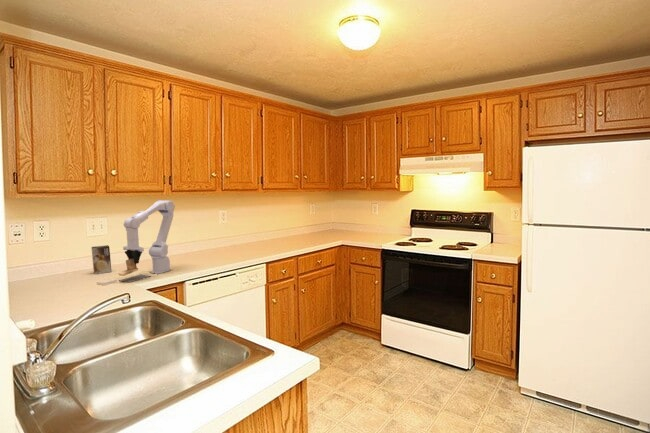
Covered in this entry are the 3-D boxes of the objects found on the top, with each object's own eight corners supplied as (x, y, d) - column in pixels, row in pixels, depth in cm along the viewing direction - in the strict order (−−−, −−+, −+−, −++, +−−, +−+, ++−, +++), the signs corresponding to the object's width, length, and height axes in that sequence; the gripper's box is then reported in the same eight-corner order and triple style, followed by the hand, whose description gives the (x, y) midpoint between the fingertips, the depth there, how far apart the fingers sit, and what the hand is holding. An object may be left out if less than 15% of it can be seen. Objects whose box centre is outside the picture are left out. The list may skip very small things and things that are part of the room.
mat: (140, 275, 217) (140, 274, 217) (151, 276, 213) (151, 276, 213) (118, 281, 205) (118, 280, 205) (129, 282, 201) (129, 282, 201)
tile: (109, 278, 205) (96, 281, 199) (116, 279, 202) (103, 283, 196) (109, 281, 205) (97, 285, 199) (116, 282, 202) (103, 286, 196)
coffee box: (110, 270, 231) (108, 244, 229) (111, 272, 226) (109, 246, 224) (93, 272, 225) (91, 246, 224) (94, 274, 220) (92, 248, 219)
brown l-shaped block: (133, 269, 210) (130, 258, 208) (138, 270, 208) (136, 258, 207) (118, 275, 202) (116, 263, 201) (124, 276, 200) (121, 264, 199)
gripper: (117, 239, 206) (119, 263, 208) (135, 241, 200) (136, 265, 201) (128, 237, 213) (130, 261, 214) (146, 239, 207) (147, 263, 208)
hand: (134, 263), depth 208 cm, fingers closed on brown l-shaped block, 3 cm apart
